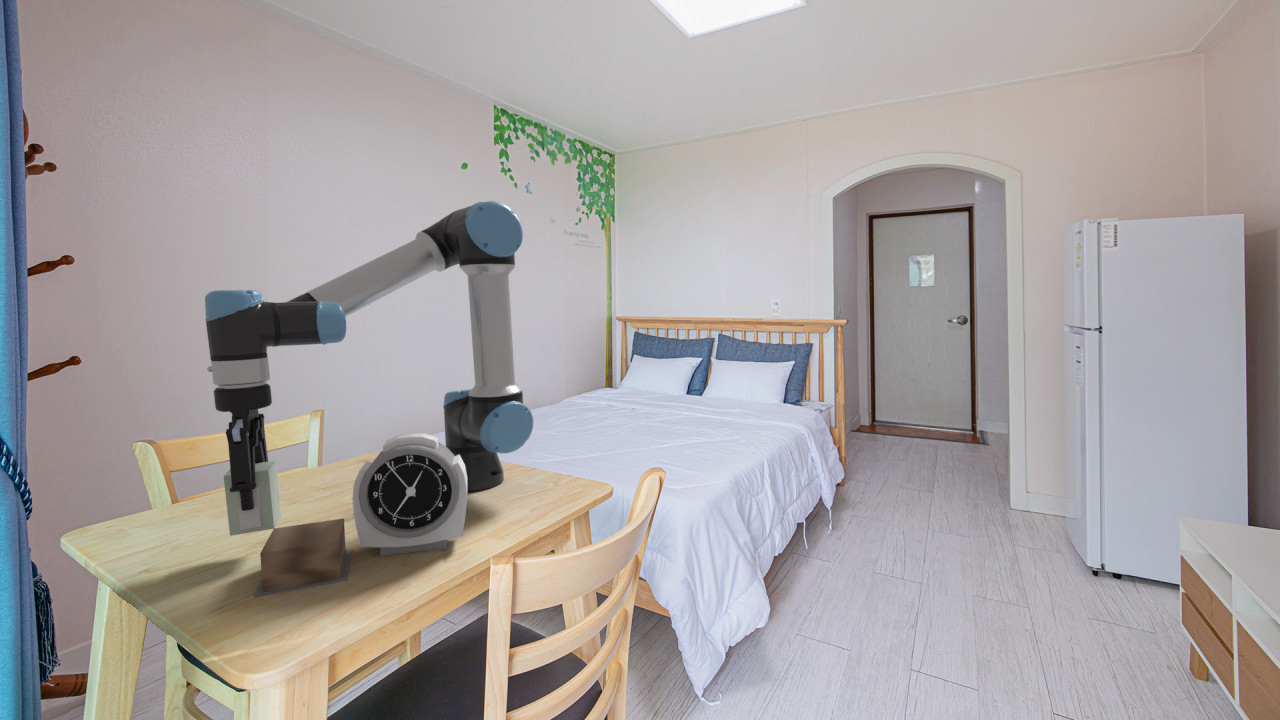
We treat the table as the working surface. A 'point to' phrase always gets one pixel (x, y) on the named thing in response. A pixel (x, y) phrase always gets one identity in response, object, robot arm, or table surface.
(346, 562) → the slate mat
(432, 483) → the alarm clock
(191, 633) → the table surface
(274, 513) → the sage block
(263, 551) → the walnut block
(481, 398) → the robot arm
